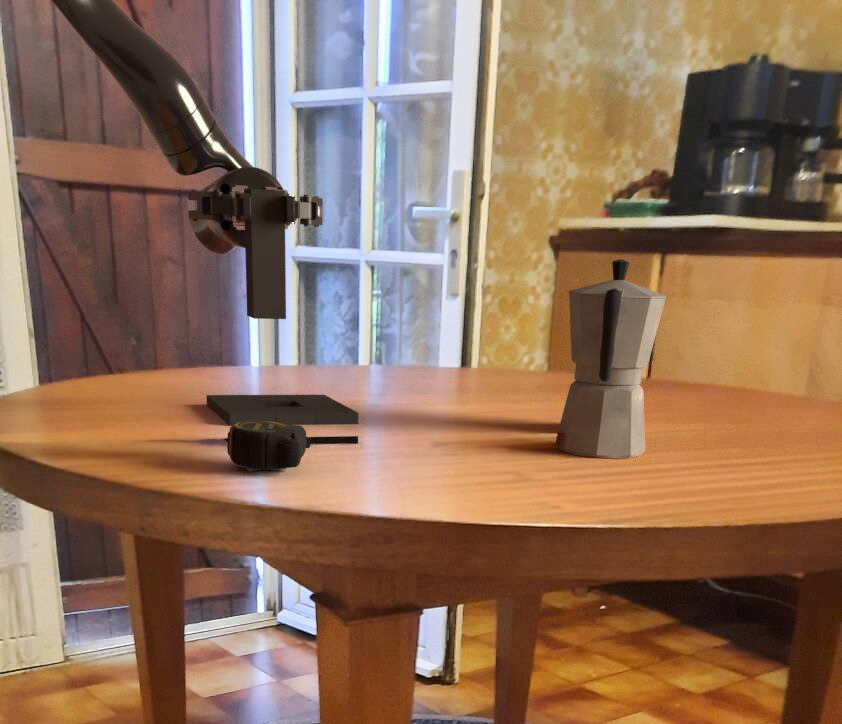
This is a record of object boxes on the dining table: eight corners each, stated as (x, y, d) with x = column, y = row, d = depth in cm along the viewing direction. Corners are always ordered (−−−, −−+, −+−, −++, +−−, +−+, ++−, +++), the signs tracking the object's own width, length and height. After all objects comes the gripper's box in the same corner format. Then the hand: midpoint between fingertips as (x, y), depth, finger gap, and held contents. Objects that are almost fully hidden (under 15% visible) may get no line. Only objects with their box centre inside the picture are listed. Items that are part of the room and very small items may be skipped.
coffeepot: (560, 436, 117) (577, 256, 109) (647, 443, 116) (671, 261, 108) (544, 461, 104) (563, 257, 96) (643, 469, 102) (670, 263, 94)
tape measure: (300, 479, 91) (300, 434, 90) (220, 474, 92) (219, 429, 90) (310, 464, 98) (310, 421, 96) (236, 460, 98) (234, 417, 96)
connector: (253, 318, 102) (250, 188, 97) (246, 315, 105) (243, 189, 100) (286, 319, 103) (284, 190, 98) (279, 316, 106) (277, 191, 101)
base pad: (230, 445, 104) (229, 414, 103) (207, 424, 115) (206, 395, 114) (358, 443, 108) (358, 412, 107) (324, 422, 119) (324, 394, 118)
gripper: (176, 164, 109) (187, 156, 94) (313, 172, 112) (345, 166, 97) (180, 245, 112) (192, 250, 97) (313, 251, 116) (344, 256, 101)
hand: (269, 208), depth 97 cm, fingers closed on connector, 3 cm apart
